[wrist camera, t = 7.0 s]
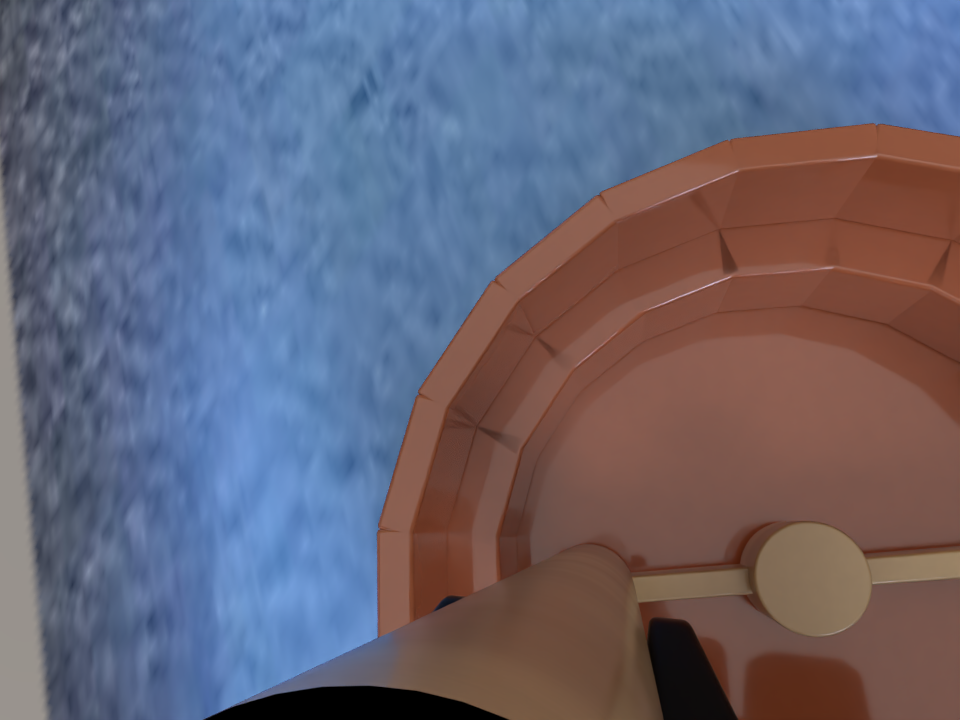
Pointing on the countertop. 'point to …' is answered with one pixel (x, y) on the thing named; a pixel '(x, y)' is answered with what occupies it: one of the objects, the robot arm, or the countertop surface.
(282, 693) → the stirrer
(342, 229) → the countertop surface
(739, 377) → the bowl
